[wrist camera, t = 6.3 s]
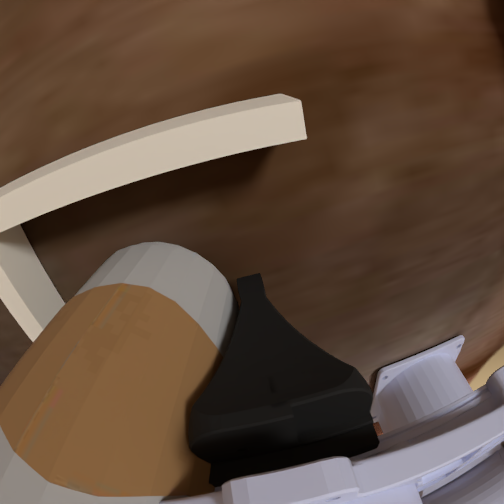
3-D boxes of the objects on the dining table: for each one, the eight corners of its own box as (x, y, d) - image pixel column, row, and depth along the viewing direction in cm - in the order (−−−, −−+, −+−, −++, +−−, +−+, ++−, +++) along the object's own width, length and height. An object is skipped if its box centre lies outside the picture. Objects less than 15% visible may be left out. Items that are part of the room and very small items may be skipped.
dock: (315, 356, 19) (327, 388, 17) (117, 395, 18) (113, 426, 16) (281, 93, 10) (301, 100, 8) (-14, 195, 10) (-44, 221, 8)
